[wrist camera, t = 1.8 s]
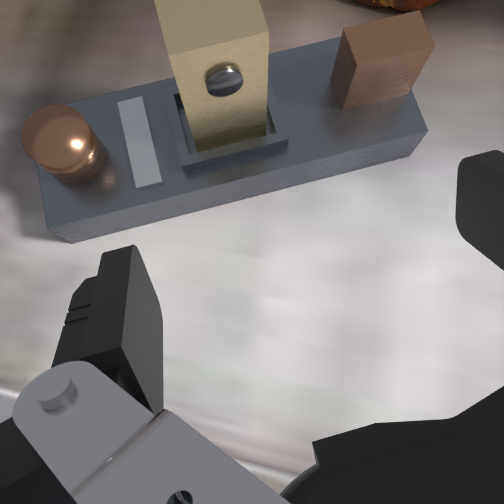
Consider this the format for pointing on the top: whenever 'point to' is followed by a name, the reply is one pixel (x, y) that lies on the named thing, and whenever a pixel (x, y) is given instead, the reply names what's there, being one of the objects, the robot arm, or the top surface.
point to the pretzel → (399, 4)
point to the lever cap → (218, 67)
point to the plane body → (238, 154)
